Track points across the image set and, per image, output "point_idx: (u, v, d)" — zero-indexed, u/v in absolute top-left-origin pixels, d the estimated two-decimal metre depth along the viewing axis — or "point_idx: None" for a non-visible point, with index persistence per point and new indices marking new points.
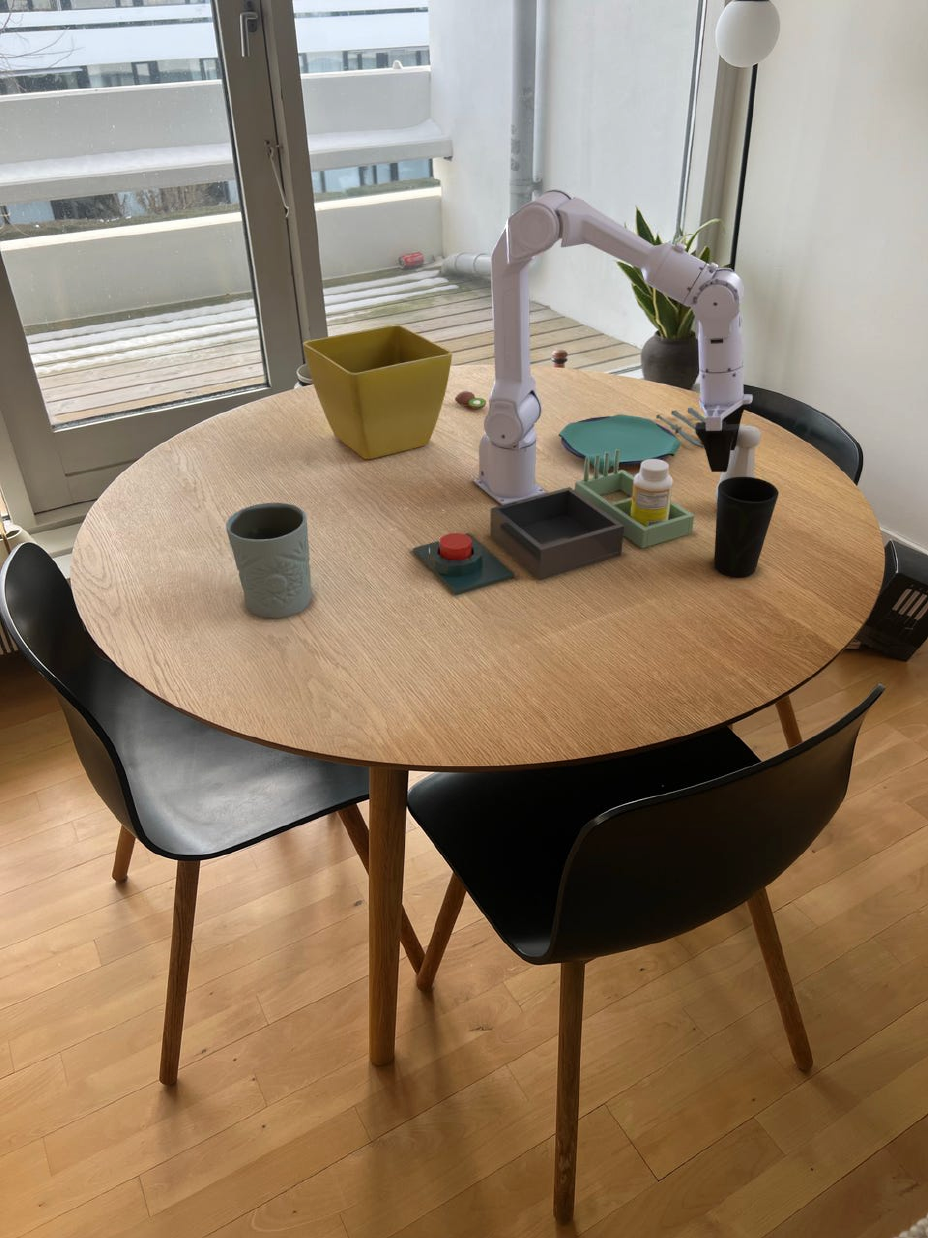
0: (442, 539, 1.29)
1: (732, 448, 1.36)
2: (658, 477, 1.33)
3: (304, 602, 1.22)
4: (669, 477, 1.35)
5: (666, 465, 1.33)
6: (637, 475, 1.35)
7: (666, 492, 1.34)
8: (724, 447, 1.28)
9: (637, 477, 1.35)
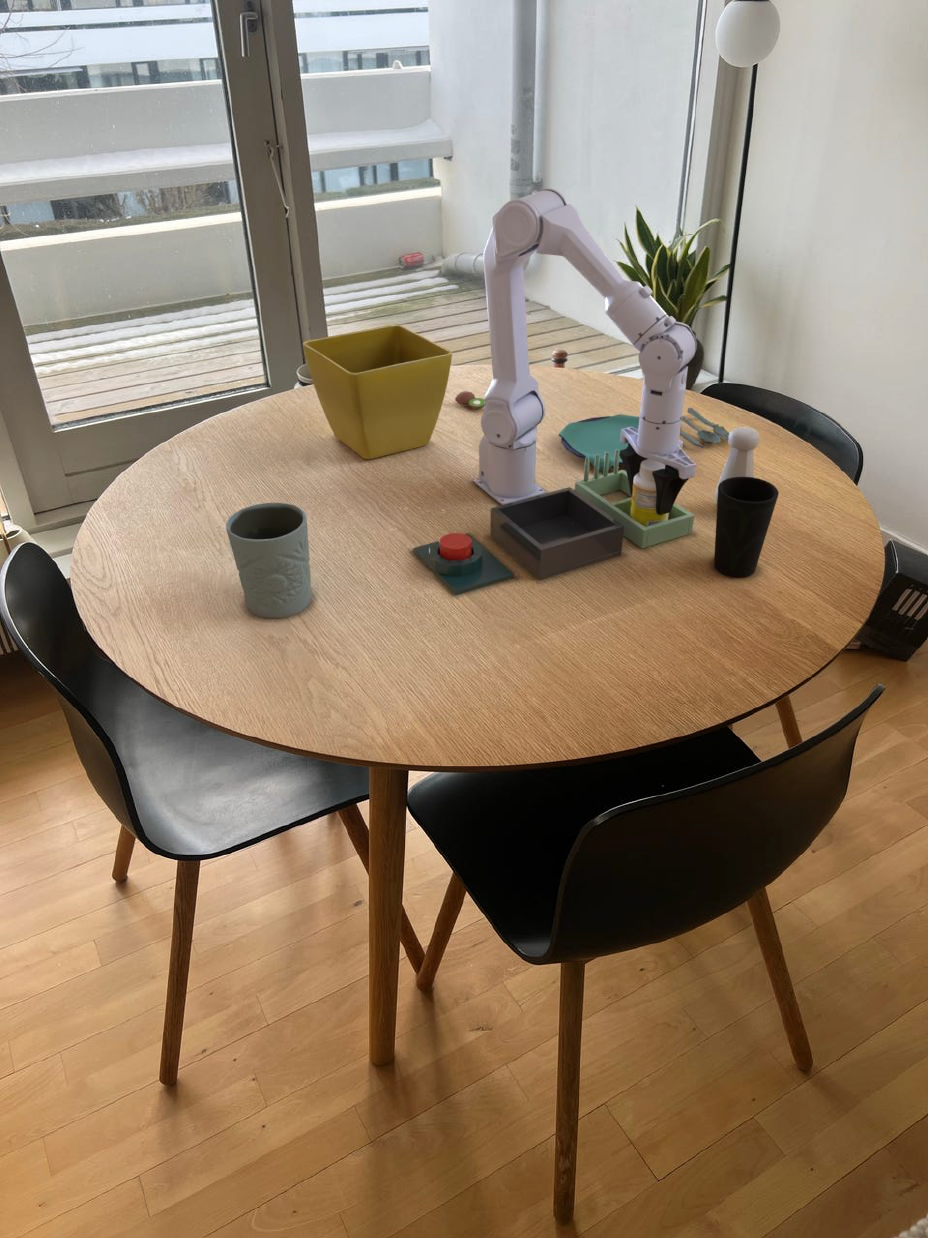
0: (442, 539, 1.29)
1: None
2: None
3: (304, 602, 1.22)
4: None
5: None
6: (637, 475, 1.35)
7: None
8: (673, 489, 1.33)
9: (637, 476, 1.35)
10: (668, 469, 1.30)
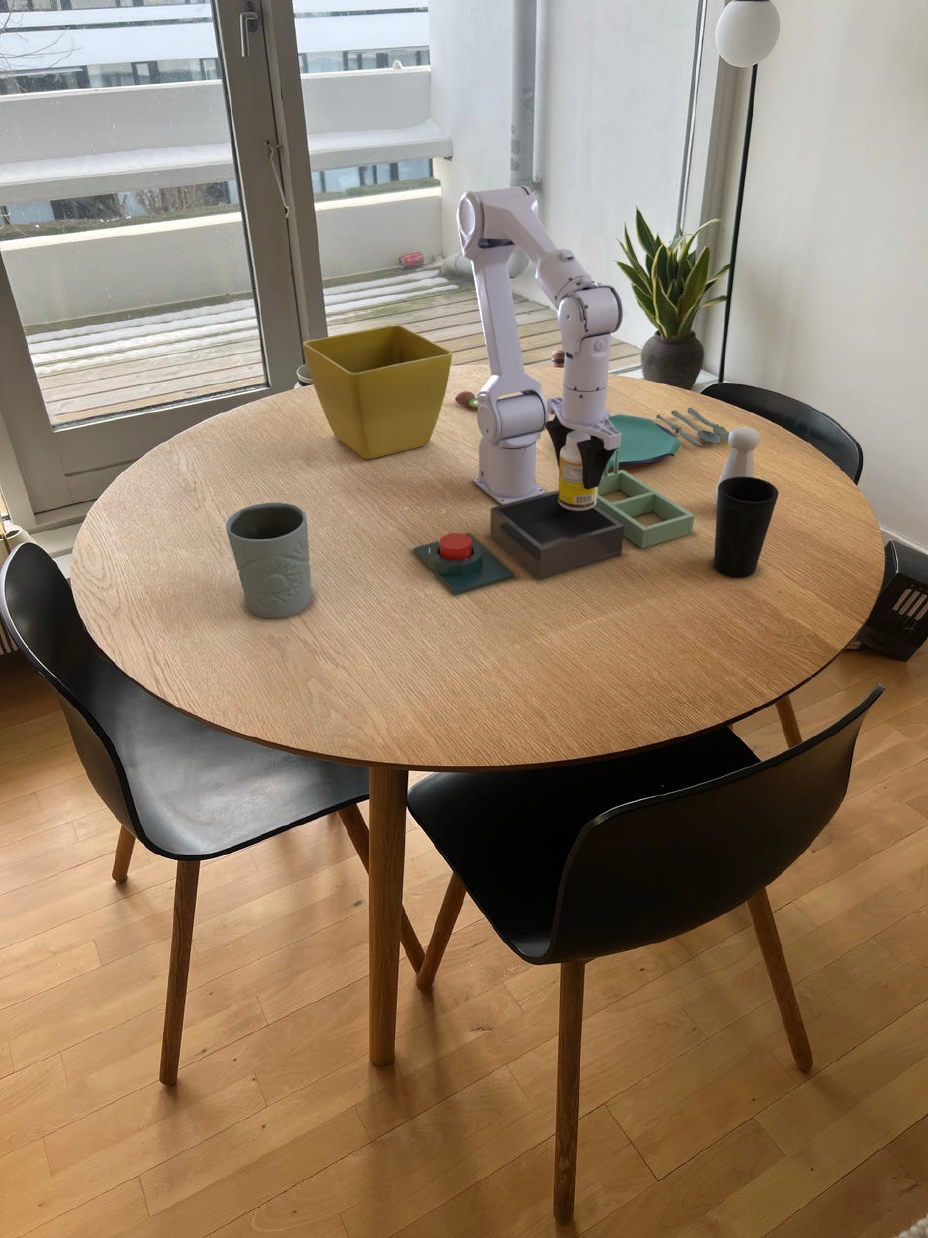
0: (442, 539, 1.29)
1: None
2: None
3: (304, 602, 1.22)
4: None
5: None
6: (563, 447, 1.28)
7: None
8: (601, 462, 1.26)
9: (563, 449, 1.28)
10: (593, 440, 1.23)
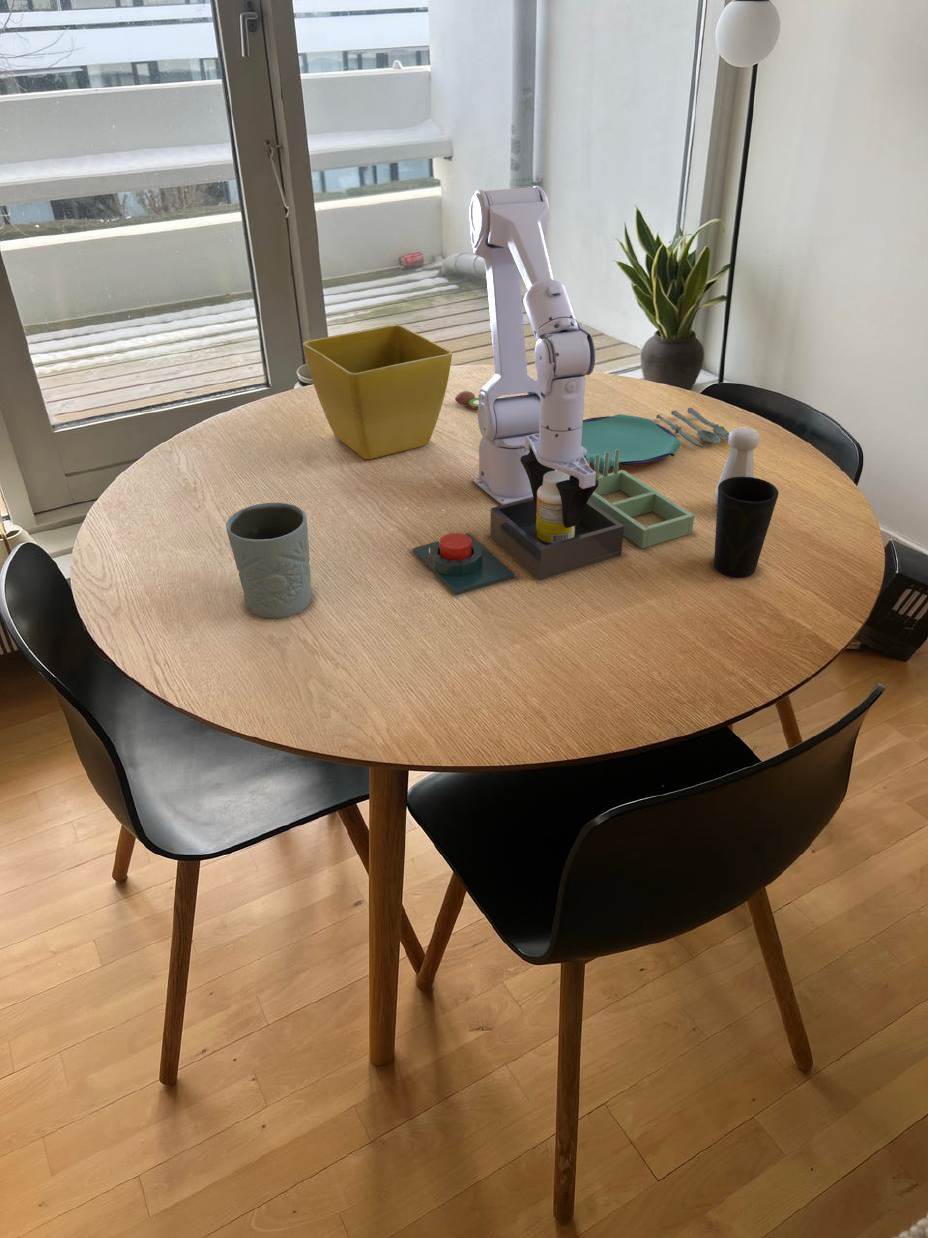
0: (442, 539, 1.29)
1: None
2: None
3: (304, 602, 1.22)
4: None
5: None
6: (540, 487, 1.31)
7: None
8: (580, 501, 1.27)
9: (540, 489, 1.30)
10: (572, 480, 1.24)
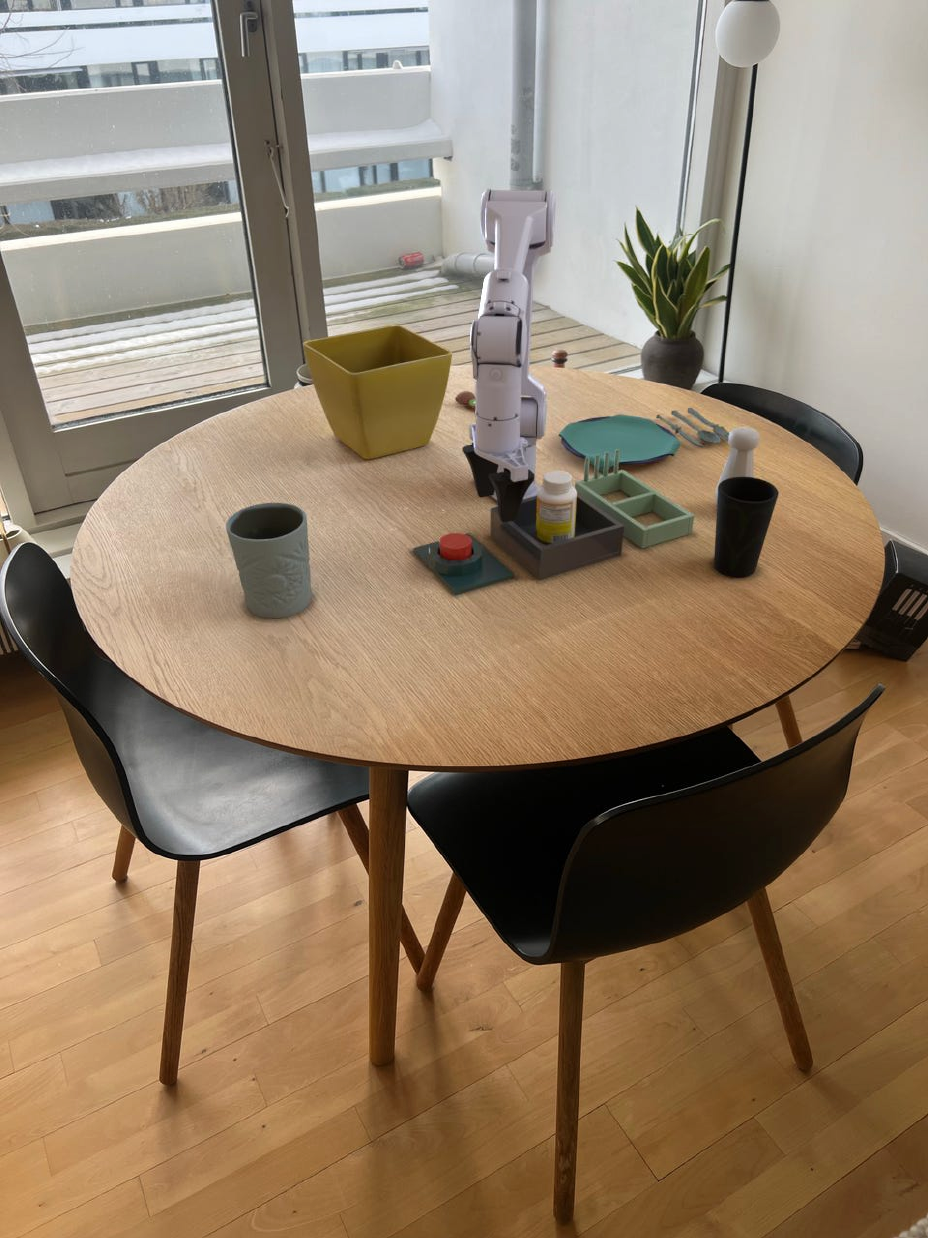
0: (442, 539, 1.29)
1: (491, 493, 1.30)
2: (560, 490, 1.28)
3: (304, 602, 1.22)
4: (573, 489, 1.30)
5: (569, 477, 1.29)
6: (540, 487, 1.31)
7: (569, 505, 1.29)
8: (516, 495, 1.22)
9: (540, 489, 1.30)
10: (505, 473, 1.19)
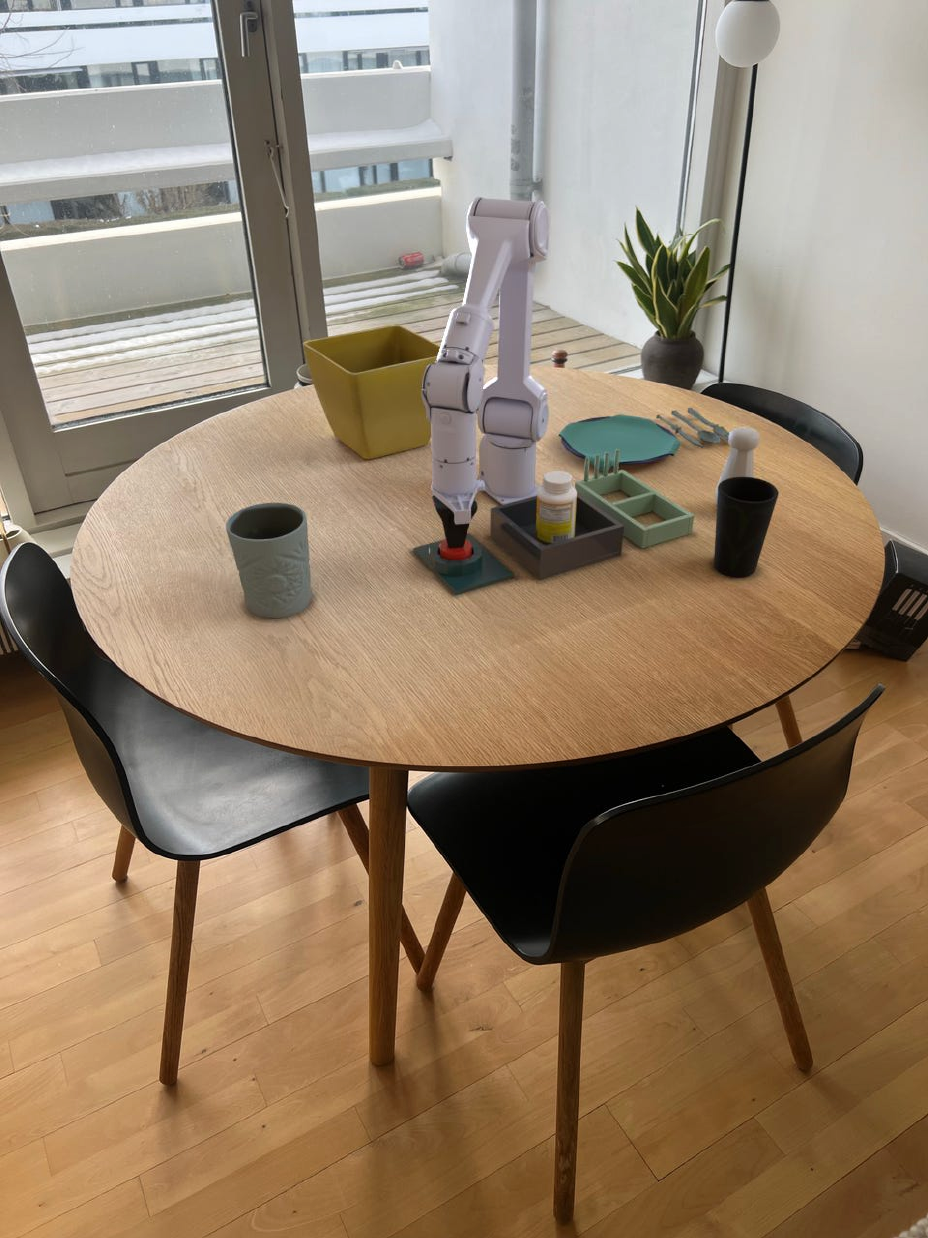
0: (442, 544, 1.29)
1: None
2: (560, 490, 1.28)
3: (304, 602, 1.22)
4: (573, 489, 1.30)
5: (569, 477, 1.29)
6: (540, 487, 1.31)
7: (569, 505, 1.29)
8: (462, 524, 1.26)
9: (540, 489, 1.30)
10: None
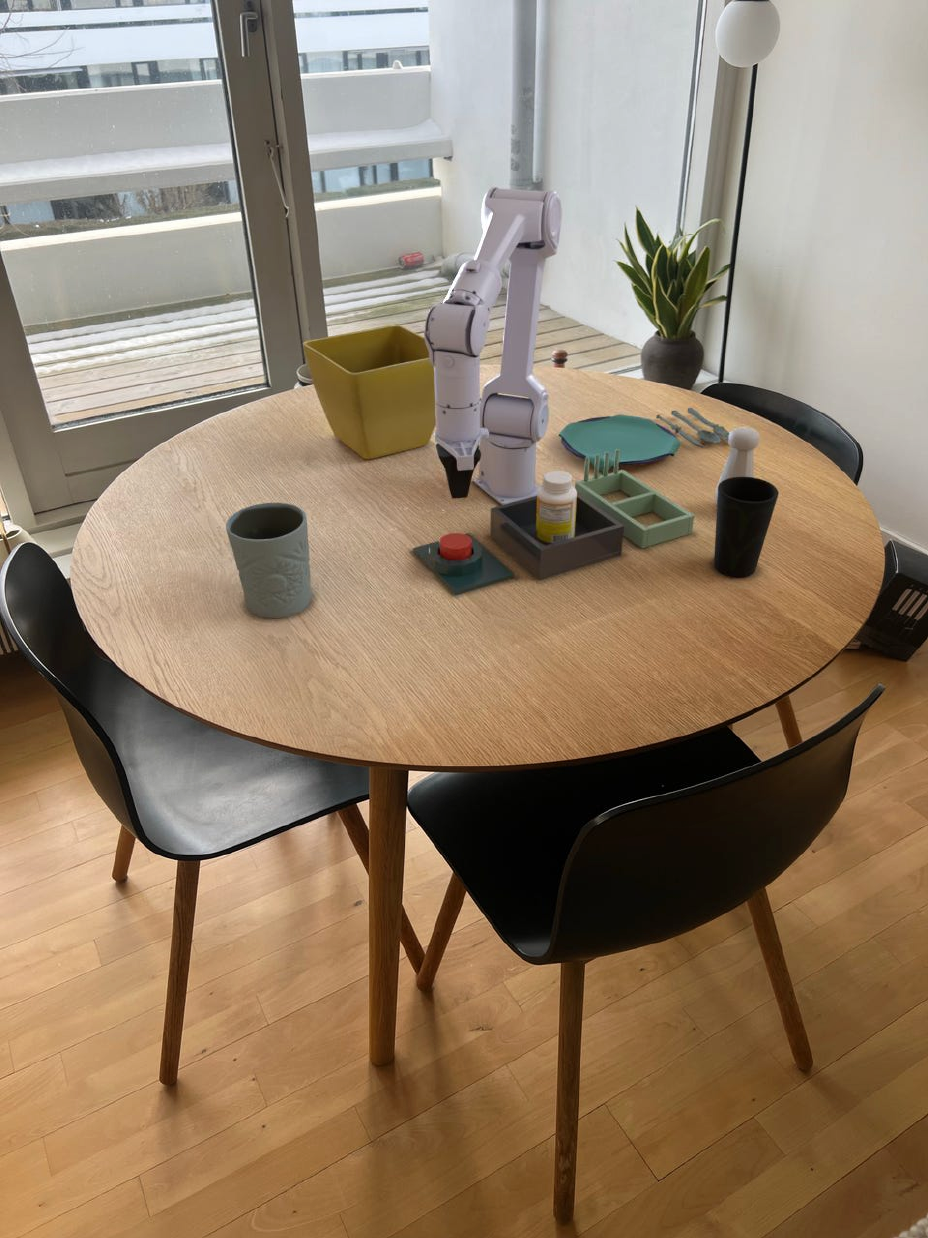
0: (442, 539, 1.29)
1: None
2: (560, 490, 1.28)
3: (304, 602, 1.22)
4: (573, 489, 1.30)
5: (569, 477, 1.29)
6: (540, 487, 1.31)
7: (570, 505, 1.29)
8: (466, 473, 1.25)
9: (540, 489, 1.30)
10: None
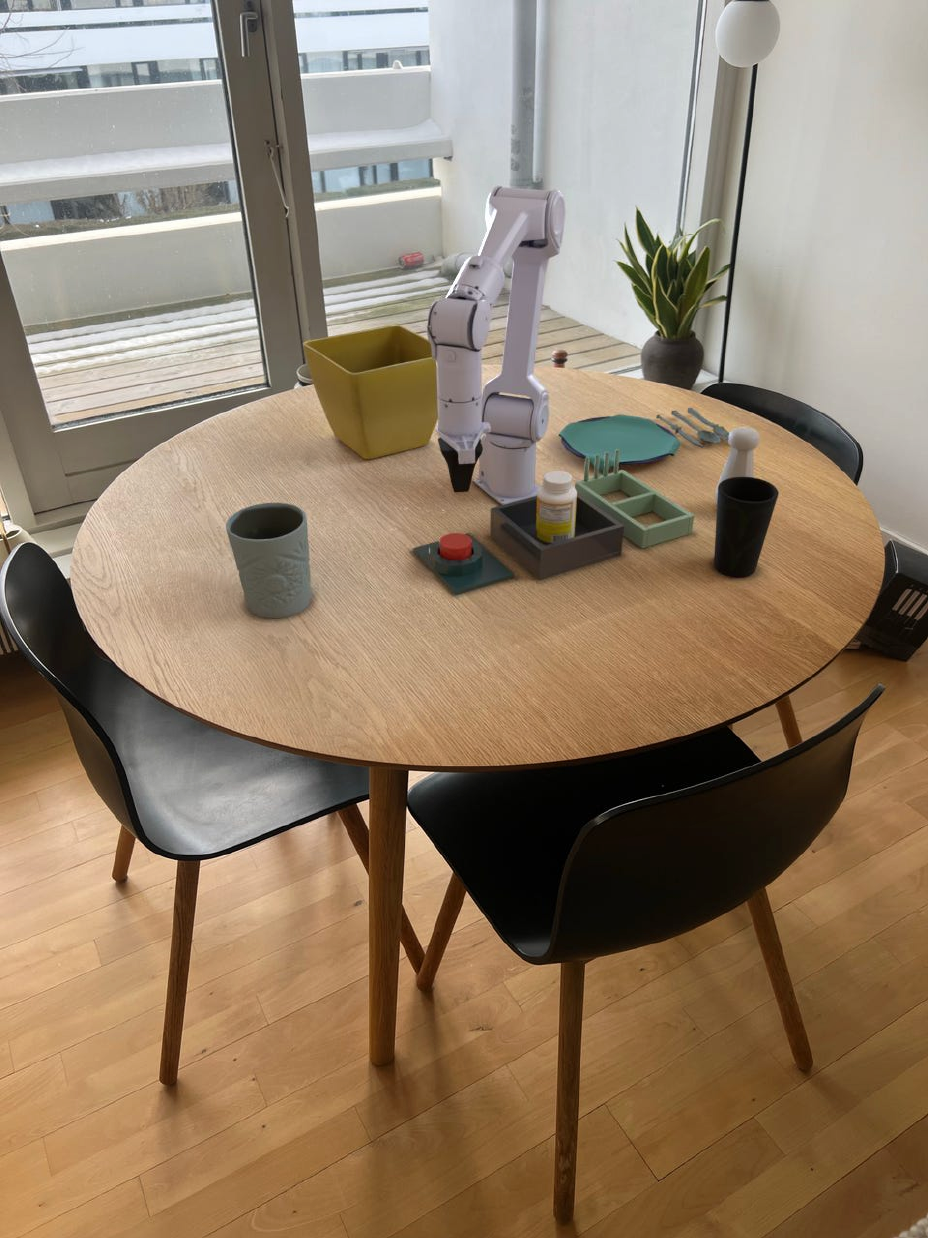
0: (442, 539, 1.29)
1: None
2: (560, 490, 1.28)
3: (304, 602, 1.22)
4: (573, 489, 1.30)
5: (569, 477, 1.29)
6: (540, 487, 1.31)
7: (570, 505, 1.29)
8: (467, 467, 1.26)
9: (540, 489, 1.30)
10: None
